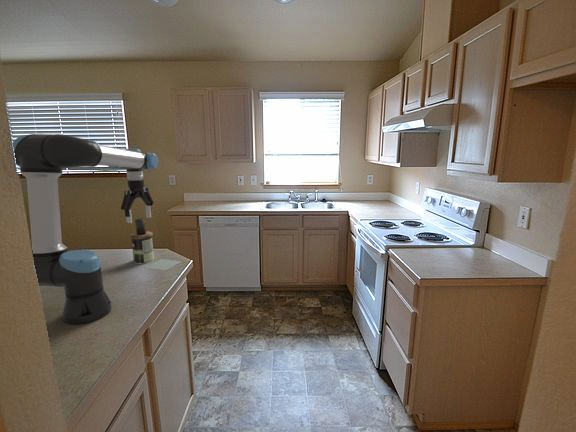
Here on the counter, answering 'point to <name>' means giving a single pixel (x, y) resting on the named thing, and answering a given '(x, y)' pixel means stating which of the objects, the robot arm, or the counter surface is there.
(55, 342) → the counter surface
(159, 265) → the mat
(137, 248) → the coffee can
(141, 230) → the lid
